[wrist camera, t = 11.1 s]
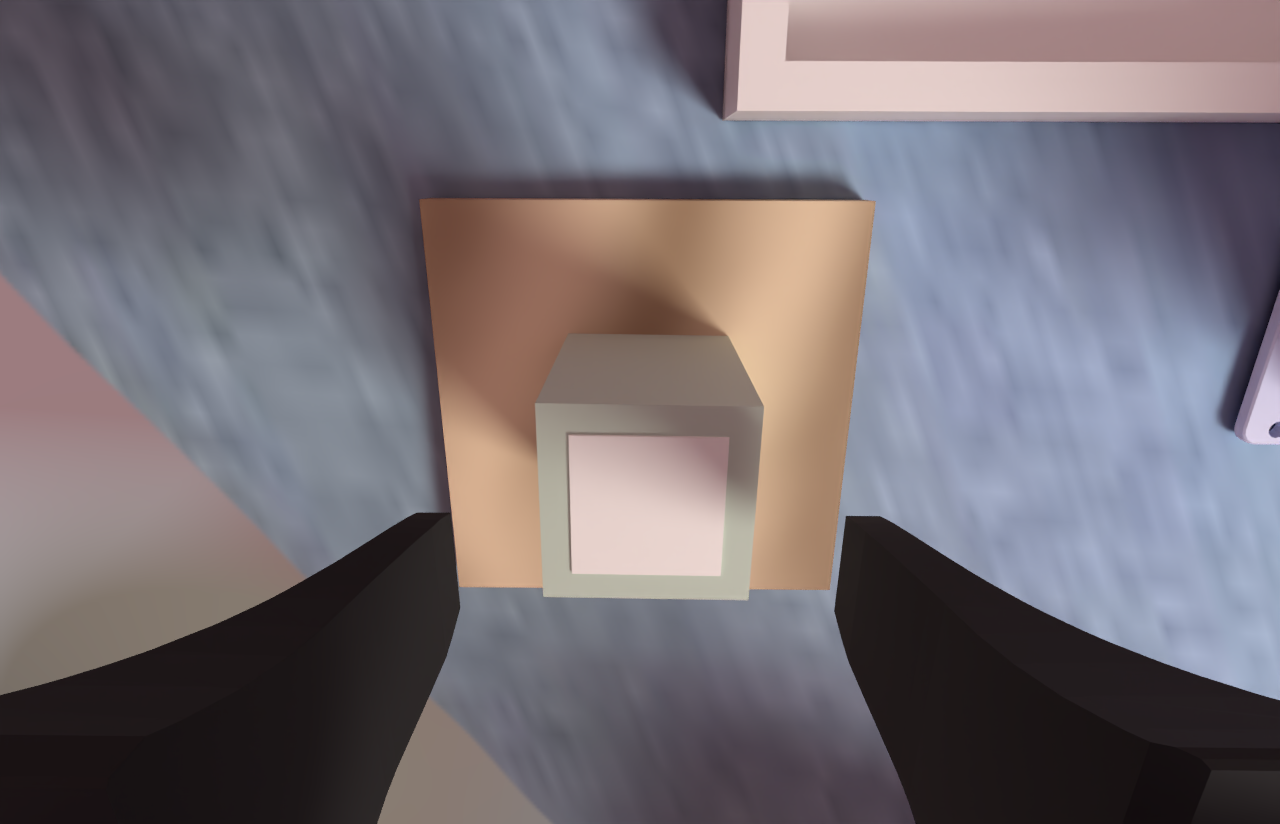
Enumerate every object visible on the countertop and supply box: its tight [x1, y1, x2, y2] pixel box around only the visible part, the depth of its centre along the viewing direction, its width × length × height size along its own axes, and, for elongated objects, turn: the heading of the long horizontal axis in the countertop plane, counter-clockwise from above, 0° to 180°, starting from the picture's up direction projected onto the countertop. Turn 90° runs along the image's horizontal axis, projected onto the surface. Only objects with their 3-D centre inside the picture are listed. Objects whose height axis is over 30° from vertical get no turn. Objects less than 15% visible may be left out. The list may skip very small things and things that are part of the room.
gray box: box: [535, 333, 764, 600], centre depth 17 cm, size 4×4×6 cm
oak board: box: [419, 198, 876, 590], centre depth 20 cm, size 12×12×1 cm
